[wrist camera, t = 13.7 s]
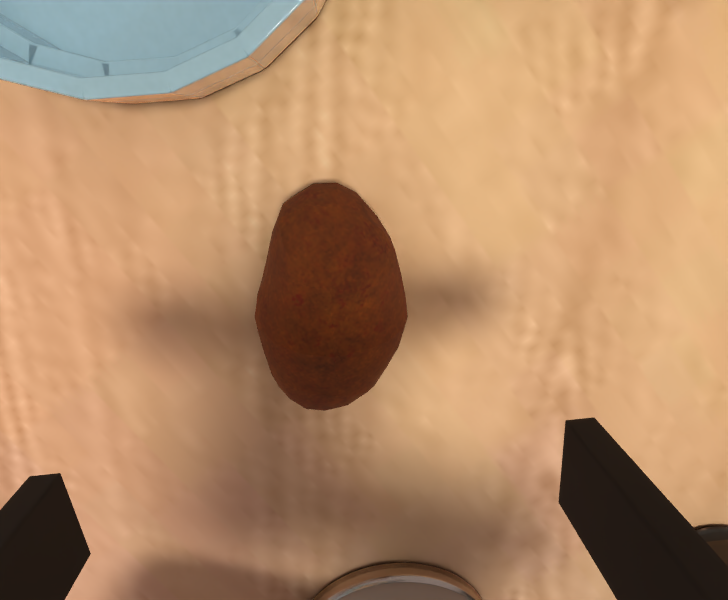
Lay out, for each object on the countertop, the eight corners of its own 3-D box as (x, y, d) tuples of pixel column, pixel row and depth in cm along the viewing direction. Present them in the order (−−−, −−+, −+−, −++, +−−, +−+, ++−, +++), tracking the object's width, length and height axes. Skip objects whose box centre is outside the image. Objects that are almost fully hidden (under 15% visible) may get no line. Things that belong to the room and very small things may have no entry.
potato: (403, 179, 25) (431, 204, 18) (394, 368, 29) (413, 452, 22) (259, 177, 25) (227, 201, 17) (270, 369, 29) (248, 455, 21)
